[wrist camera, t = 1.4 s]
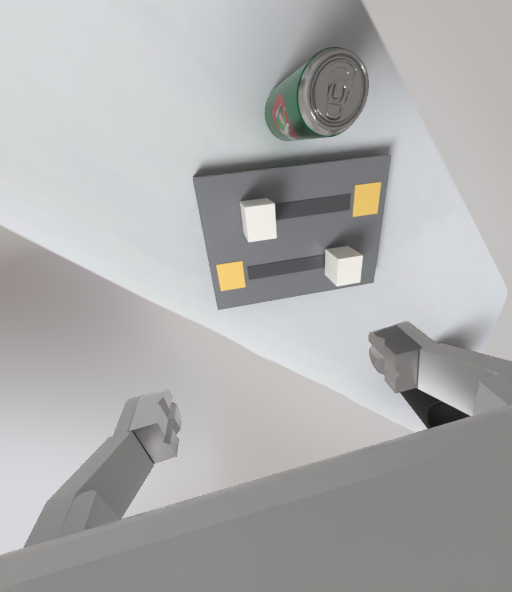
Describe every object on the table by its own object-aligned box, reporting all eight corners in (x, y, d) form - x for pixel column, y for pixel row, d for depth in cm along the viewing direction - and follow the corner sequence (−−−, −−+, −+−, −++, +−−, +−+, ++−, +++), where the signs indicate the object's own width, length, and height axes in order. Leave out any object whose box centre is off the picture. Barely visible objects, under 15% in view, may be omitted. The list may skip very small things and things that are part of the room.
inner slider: (239, 201, 29) (244, 207, 26) (266, 197, 29) (274, 203, 26) (243, 233, 31) (248, 242, 28) (269, 229, 31) (276, 238, 28)
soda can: (315, 88, 28) (384, 50, 17) (305, 144, 30) (361, 141, 19) (267, 78, 26) (311, 32, 16) (260, 137, 29) (295, 130, 18)
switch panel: (193, 176, 29) (192, 178, 28) (380, 154, 32) (391, 154, 30) (217, 302, 37) (218, 310, 35) (365, 276, 40) (373, 282, 38)
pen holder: (438, 371, 54) (484, 413, 45) (396, 394, 55) (433, 440, 46) (428, 342, 49) (477, 383, 40) (382, 368, 50) (421, 413, 41)
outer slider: (325, 249, 34) (338, 259, 31) (348, 245, 34) (363, 255, 31) (324, 274, 35) (336, 286, 32) (346, 270, 36) (360, 282, 33)
